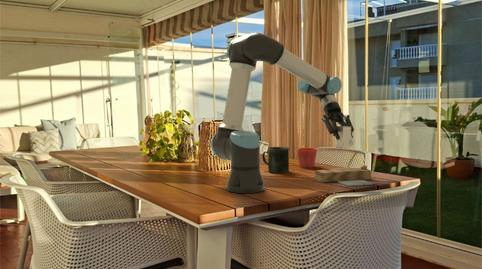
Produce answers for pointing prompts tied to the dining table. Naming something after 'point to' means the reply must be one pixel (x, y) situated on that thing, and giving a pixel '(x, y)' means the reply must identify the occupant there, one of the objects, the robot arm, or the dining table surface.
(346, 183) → the mat
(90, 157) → the dining table surface
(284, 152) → the mug
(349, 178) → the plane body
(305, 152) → the flower pot
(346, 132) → the white rectangular block
